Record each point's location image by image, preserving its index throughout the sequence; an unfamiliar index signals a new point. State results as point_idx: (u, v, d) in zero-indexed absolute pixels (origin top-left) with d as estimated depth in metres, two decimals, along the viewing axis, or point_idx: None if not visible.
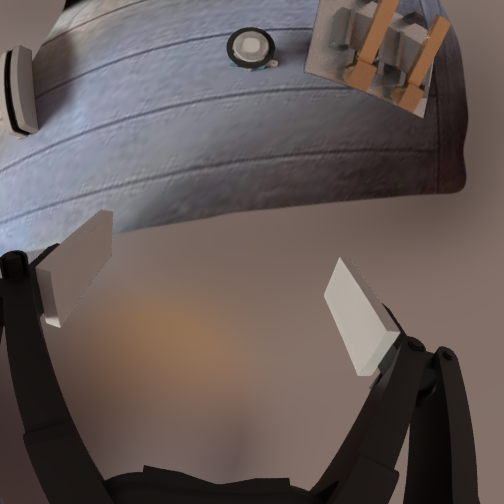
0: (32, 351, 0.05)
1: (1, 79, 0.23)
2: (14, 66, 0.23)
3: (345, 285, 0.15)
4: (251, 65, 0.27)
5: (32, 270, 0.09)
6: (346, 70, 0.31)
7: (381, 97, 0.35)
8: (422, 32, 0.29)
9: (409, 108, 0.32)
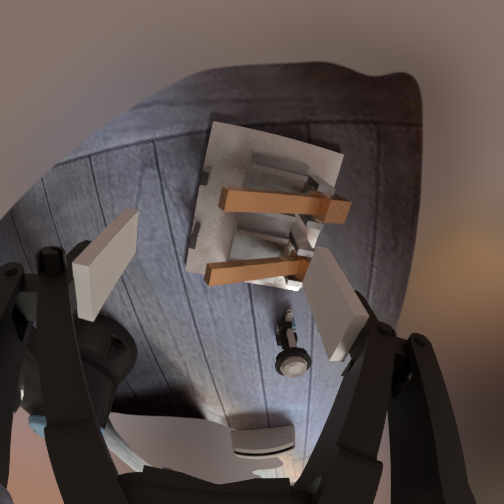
0: (63, 346, 0.06)
1: (257, 457, 0.56)
2: (251, 451, 0.55)
3: (320, 273, 0.15)
4: (309, 363, 0.39)
5: None
6: None
7: None
8: (217, 146, 0.33)
9: (347, 208, 0.33)
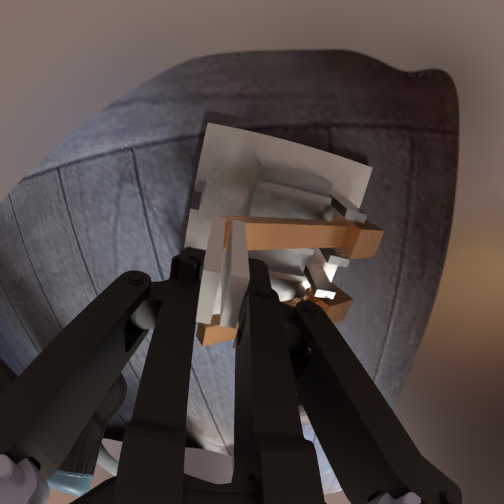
0: (177, 354, 0.07)
1: None
2: None
3: (229, 243, 0.16)
4: None
5: None
6: None
7: None
8: (212, 156, 0.26)
9: (378, 239, 0.25)
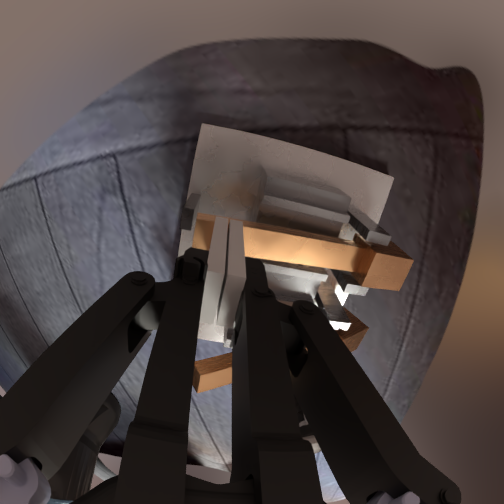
0: (180, 354, 0.07)
1: None
2: None
3: (227, 243, 0.16)
4: None
5: None
6: None
7: None
8: (207, 163, 0.22)
9: (405, 269, 0.20)
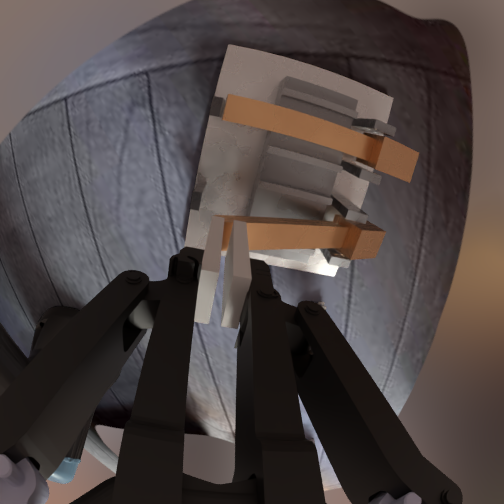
0: (175, 353, 0.07)
1: None
2: None
3: (230, 244, 0.16)
4: None
5: None
6: None
7: (370, 172, 0.27)
8: (232, 75, 0.22)
9: (412, 161, 0.20)
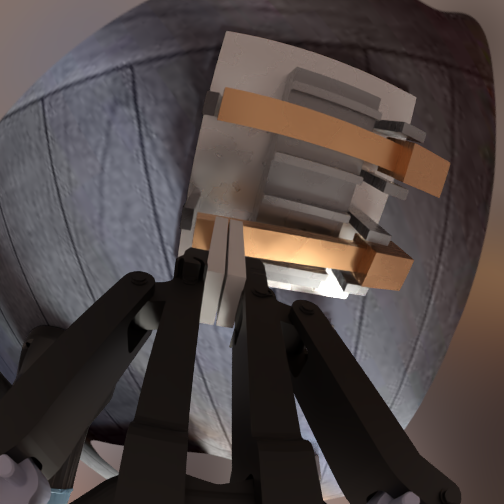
0: (180, 354, 0.07)
1: None
2: None
3: (227, 243, 0.16)
4: None
5: None
6: None
7: (390, 182, 0.23)
8: (231, 67, 0.18)
9: (443, 172, 0.16)
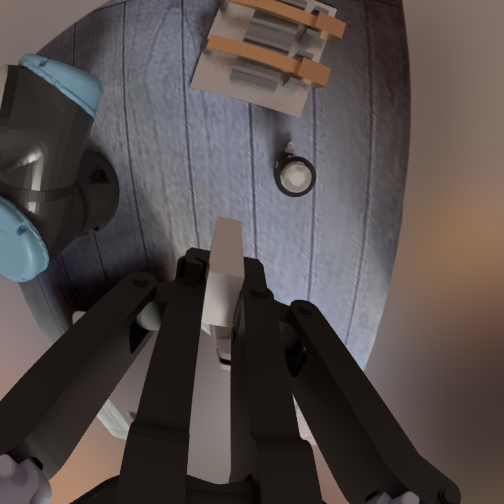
0: (182, 355, 0.07)
1: None
2: None
3: None
4: (313, 178, 0.36)
5: None
6: (309, 84, 0.34)
7: (322, 48, 0.34)
8: None
9: (341, 26, 0.28)
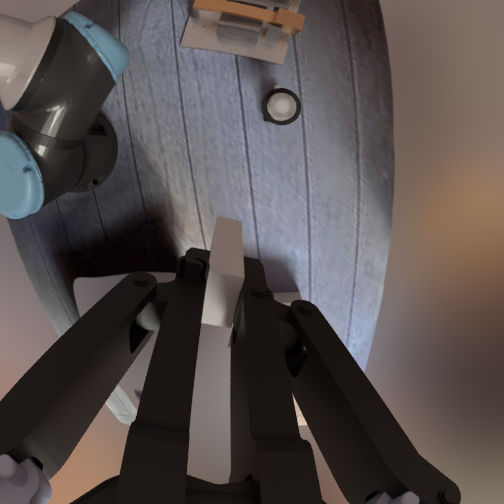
0: (182, 355, 0.07)
1: None
2: None
3: None
4: (298, 107, 0.35)
5: None
6: (288, 32, 0.33)
7: (298, 5, 0.34)
8: None
9: None
